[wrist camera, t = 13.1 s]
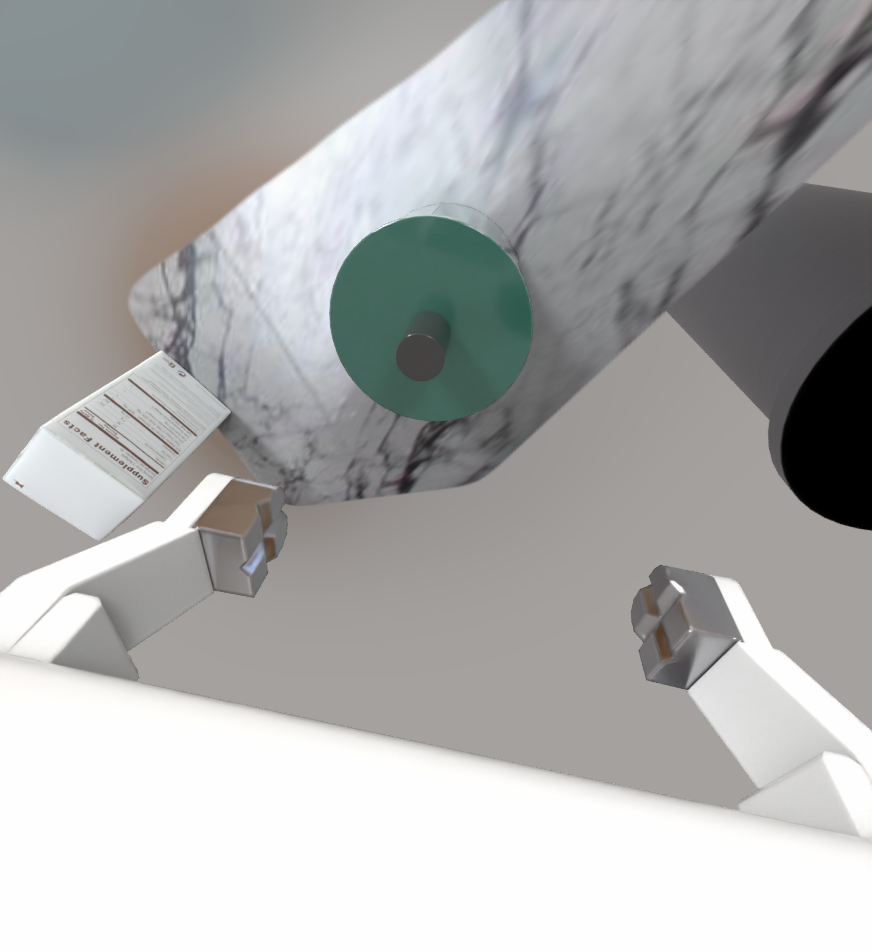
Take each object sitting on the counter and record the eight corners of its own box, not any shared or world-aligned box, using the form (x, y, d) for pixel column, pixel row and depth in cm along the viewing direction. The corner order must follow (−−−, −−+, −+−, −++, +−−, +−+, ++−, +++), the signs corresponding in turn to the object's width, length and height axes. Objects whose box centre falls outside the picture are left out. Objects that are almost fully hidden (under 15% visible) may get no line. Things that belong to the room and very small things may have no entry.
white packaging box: (191, 450, 43) (98, 545, 33) (122, 393, 40) (-6, 478, 30) (235, 412, 40) (146, 504, 30) (163, 346, 36) (35, 425, 26)
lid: (559, 235, 22) (571, 256, 18) (503, 427, 28) (504, 470, 25) (336, 192, 22) (302, 203, 18) (334, 394, 28) (309, 432, 25)
